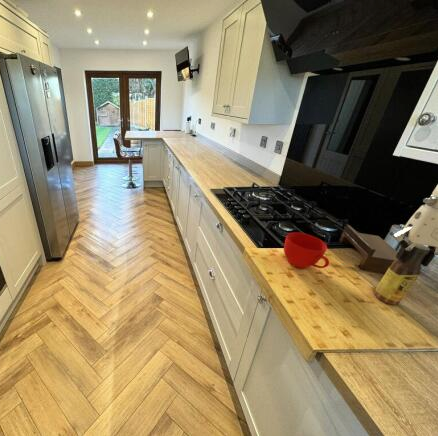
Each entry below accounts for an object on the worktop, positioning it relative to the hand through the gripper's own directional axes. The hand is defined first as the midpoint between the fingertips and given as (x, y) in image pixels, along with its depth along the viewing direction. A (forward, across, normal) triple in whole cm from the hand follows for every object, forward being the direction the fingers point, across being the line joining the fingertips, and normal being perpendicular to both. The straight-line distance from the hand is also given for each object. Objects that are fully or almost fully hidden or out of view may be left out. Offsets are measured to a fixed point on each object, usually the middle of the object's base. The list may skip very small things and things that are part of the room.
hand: (410, 261), depth 69 cm
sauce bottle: (+15, 0, 0) cm, 15 cm away
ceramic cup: (+15, -22, +10) cm, 28 cm away
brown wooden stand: (+15, +6, +25) cm, 30 cm away
